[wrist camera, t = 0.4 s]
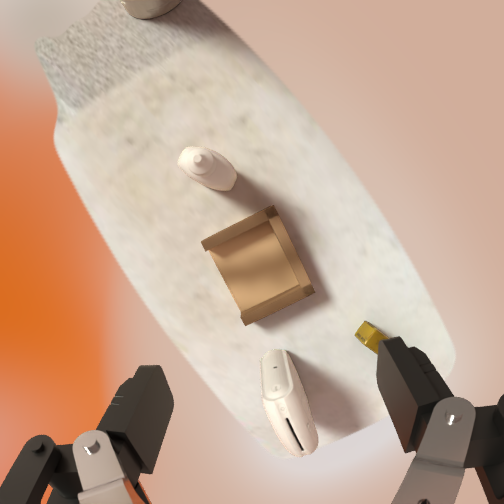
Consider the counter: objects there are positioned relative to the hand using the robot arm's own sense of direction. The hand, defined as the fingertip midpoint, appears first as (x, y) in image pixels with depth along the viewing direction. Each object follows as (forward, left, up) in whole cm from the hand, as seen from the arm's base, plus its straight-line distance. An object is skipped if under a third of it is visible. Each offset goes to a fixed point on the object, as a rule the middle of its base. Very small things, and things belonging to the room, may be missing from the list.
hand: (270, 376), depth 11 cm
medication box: (+20, +11, -28) cm, 36 cm away
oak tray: (+1, 0, -28) cm, 28 cm away
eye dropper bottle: (-11, 0, -28) cm, 30 cm away
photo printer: (+17, -4, -28) cm, 33 cm away
